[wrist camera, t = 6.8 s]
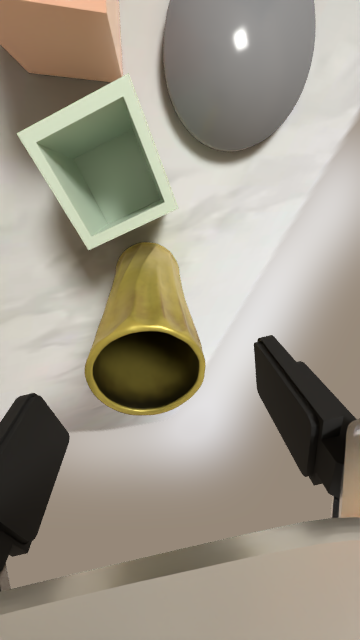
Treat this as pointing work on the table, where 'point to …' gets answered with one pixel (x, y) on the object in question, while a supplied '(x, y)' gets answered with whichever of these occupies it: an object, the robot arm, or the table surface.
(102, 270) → the table surface
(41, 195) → the table surface
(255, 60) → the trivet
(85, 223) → the cup green
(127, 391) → the vase
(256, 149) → the table surface
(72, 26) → the cup terracotta
